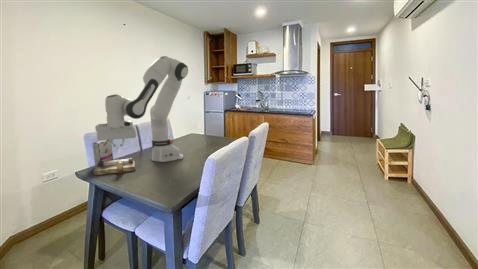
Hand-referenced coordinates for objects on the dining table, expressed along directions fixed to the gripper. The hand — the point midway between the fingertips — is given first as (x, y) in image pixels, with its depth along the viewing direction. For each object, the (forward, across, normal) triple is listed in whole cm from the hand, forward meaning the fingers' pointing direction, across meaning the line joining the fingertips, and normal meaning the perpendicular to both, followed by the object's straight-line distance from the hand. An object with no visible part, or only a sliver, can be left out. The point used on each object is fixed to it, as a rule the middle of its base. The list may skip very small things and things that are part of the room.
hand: (118, 146), depth 138 cm
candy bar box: (+17, -10, +22) cm, 30 cm away
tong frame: (+14, -3, +12) cm, 19 cm away
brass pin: (+17, 0, 0) cm, 17 cm away
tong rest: (+17, -3, +10) cm, 20 cm away
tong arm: (+14, -4, +11) cm, 18 cm away
